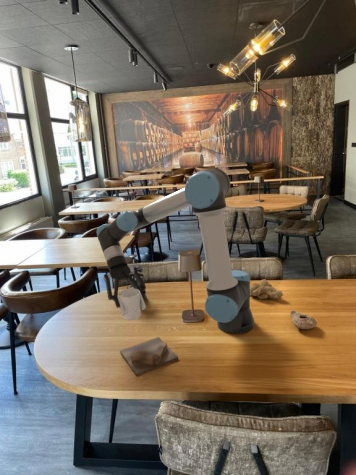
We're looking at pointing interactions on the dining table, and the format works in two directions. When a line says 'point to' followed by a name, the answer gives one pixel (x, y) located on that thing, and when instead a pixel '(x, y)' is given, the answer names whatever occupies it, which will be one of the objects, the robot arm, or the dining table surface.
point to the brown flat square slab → (148, 355)
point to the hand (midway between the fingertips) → (134, 311)
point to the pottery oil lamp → (303, 320)
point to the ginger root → (264, 290)
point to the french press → (139, 269)
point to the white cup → (130, 303)
